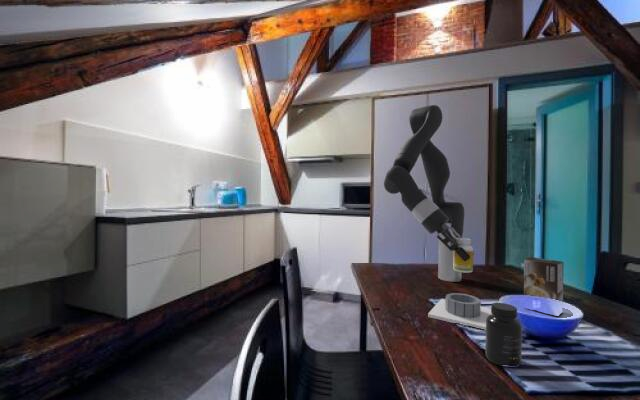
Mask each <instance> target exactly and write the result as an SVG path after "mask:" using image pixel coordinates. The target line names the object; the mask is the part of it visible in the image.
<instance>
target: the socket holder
mask: <svg viewBox="0 0 640 400" xmlns="http://www.w3.org/2000/svg"><path fill="white" fill-rule="evenodd" d="M481 303H482V300H481V299H479V298H478V297H476V296H474V295H471V294H466V293H460V292H459V293H458V292H454V293H453V292H452V293H447V294H446V295H445V298H440V299H439V301H438V302H437V303H436V304H435V305H434V306H433V308H431V310H430V311H429V312H428V313H427V317H428V318H431V319H436V320H439V321H443V322H448V323H452V324H455V323H462V324H466V325H469V326H473V327H476V328H481V329H485V330H486V319H487V317H488V316H489V315H491V314H492V313H491V307H486V306H482V305H481ZM476 328H475V329H476ZM485 330H484V331H485Z"/></svg>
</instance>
